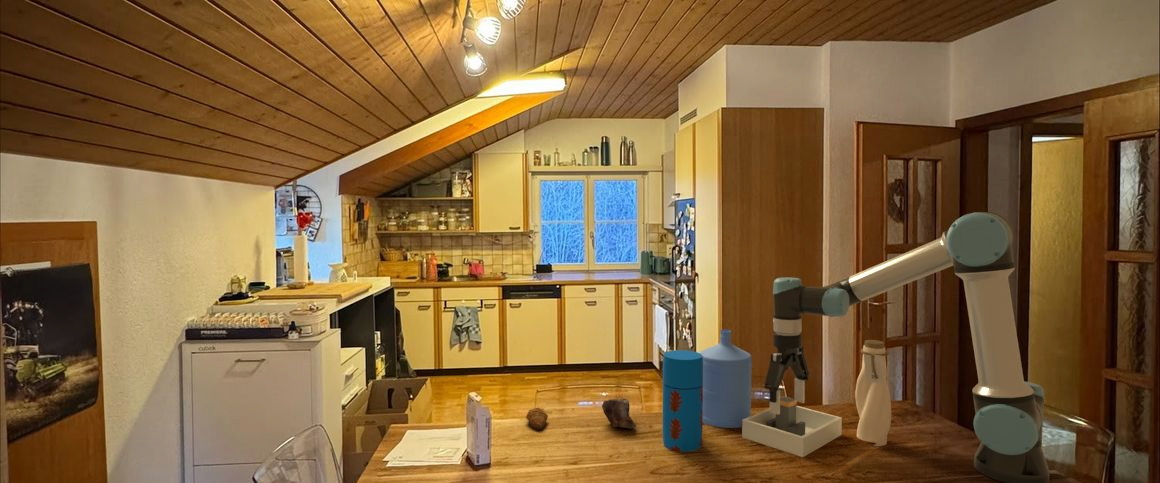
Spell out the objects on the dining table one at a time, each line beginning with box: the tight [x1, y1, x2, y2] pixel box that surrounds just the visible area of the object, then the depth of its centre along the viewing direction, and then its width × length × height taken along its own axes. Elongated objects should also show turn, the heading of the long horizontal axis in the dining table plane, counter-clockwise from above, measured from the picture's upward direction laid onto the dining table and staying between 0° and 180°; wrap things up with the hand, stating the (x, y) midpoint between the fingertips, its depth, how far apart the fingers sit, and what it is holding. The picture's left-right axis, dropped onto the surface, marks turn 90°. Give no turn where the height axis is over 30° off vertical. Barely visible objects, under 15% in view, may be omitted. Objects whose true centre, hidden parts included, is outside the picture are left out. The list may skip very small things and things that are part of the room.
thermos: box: [662, 349, 703, 453], centre depth 167 cm, size 11×11×25 cm
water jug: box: [699, 329, 753, 429], centre depth 184 cm, size 16×16×28 cm
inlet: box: [766, 417, 805, 436], centre depth 172 cm, size 8×8×4 cm
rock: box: [601, 398, 637, 430], centre depth 182 cm, size 12×9×10 cm
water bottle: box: [854, 339, 892, 447], centre depth 168 cm, size 10×9×28 cm
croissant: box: [525, 407, 549, 431], centre depth 184 cm, size 14×7×5 cm, turn 9°
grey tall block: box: [775, 395, 798, 432], centre depth 172 cm, size 4×4×10 cm
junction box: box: [741, 405, 843, 458], centre depth 171 cm, size 18×22×6 cm
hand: (787, 407), depth 172 cm, fingers open, 13 cm apart
